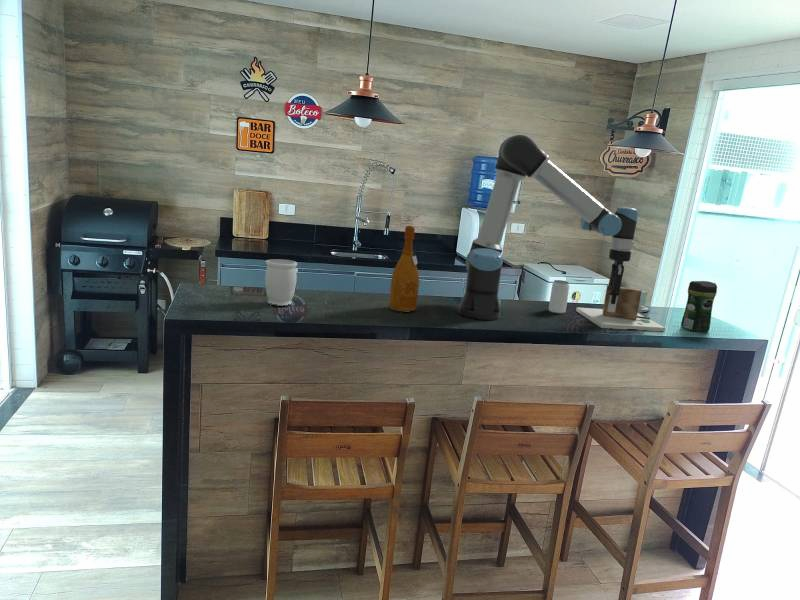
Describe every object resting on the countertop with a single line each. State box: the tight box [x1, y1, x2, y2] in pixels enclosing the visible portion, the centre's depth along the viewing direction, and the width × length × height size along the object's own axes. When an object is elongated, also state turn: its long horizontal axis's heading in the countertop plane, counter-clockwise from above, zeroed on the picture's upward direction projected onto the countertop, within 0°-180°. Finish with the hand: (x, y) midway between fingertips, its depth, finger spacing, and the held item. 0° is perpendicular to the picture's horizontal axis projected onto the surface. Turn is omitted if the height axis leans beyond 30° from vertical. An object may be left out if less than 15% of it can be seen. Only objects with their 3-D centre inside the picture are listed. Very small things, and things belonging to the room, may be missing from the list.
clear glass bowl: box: [638, 290, 650, 314], centre depth 247 cm, size 12×12×8 cm
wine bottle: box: [389, 225, 420, 312], centre depth 209 cm, size 10×10×30 cm
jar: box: [264, 258, 298, 305], centre depth 203 cm, size 11×10×15 cm
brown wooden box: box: [602, 284, 651, 320], centre depth 223 cm, size 17×3×11 cm, turn 75°
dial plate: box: [575, 306, 666, 332], centre depth 225 cm, size 24×24×2 cm
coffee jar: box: [680, 280, 718, 333], centre depth 220 cm, size 10×8×19 cm
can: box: [548, 279, 570, 314], centre depth 230 cm, size 6×6×12 cm
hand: (610, 310), depth 225 cm, fingers open, 4 cm apart
